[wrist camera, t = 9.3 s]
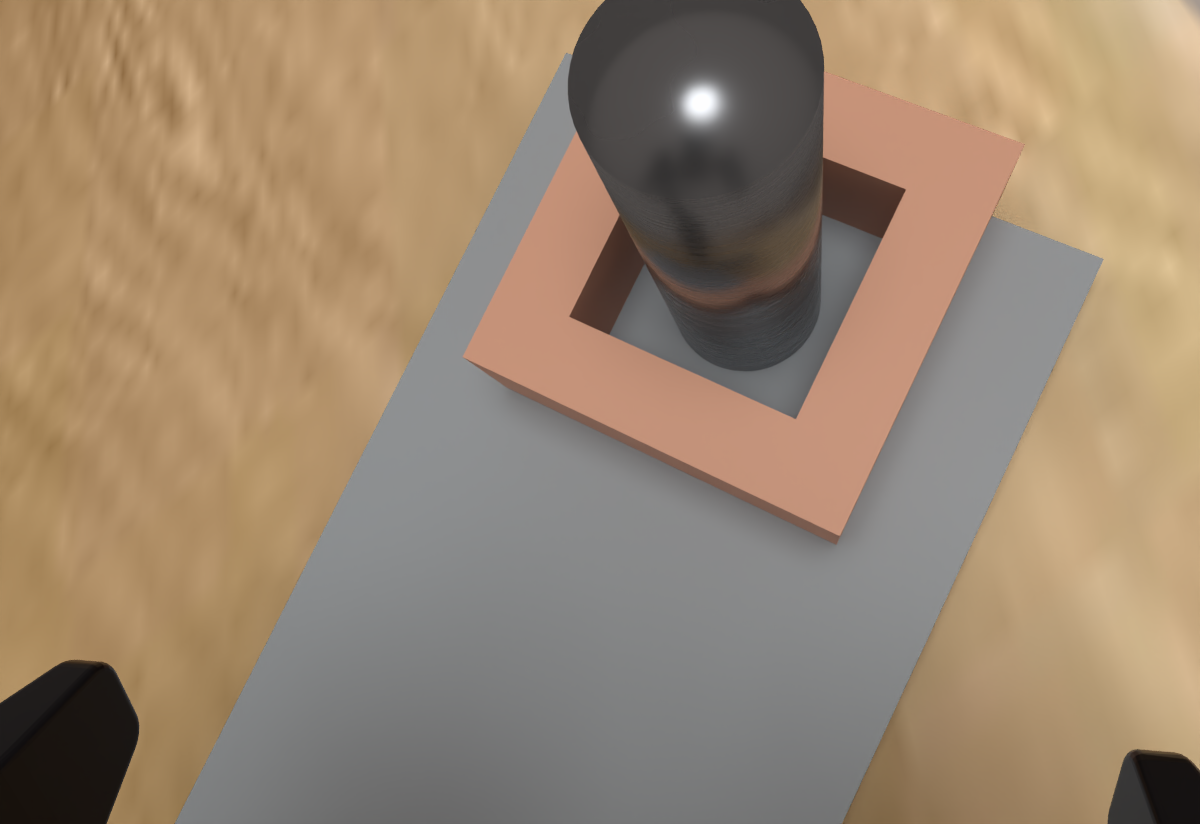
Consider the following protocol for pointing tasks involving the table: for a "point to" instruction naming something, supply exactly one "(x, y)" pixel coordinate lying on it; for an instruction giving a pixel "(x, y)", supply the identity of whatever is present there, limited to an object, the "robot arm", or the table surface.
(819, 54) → the peg
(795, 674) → the socket base
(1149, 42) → the table surface
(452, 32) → the table surface
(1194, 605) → the table surface
